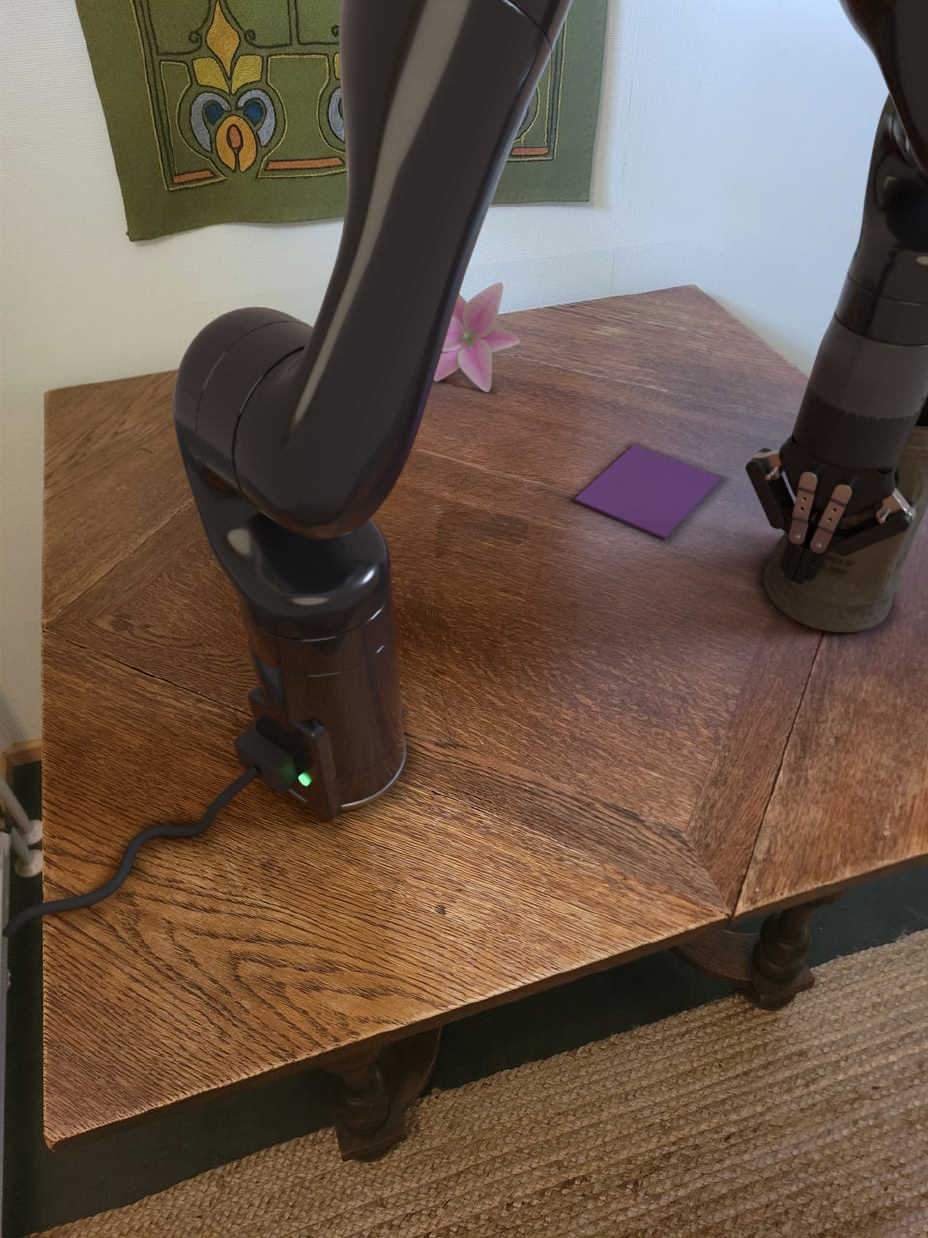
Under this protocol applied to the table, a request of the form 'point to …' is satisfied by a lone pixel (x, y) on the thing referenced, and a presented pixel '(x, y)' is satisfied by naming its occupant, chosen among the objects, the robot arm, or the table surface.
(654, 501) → the cloth
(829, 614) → the beer stein
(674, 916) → the table surface
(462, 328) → the lily
